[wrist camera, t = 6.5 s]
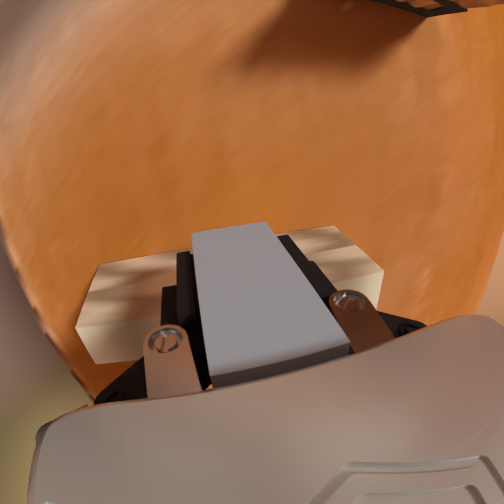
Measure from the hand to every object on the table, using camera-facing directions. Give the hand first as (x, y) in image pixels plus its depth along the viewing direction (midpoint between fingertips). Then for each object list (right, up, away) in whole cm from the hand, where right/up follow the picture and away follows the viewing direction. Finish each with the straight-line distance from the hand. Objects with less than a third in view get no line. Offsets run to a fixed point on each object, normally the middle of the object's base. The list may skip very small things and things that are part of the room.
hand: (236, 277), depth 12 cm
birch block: (-2, 0, +10) cm, 10 cm away
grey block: (0, -4, +3) cm, 5 cm away
